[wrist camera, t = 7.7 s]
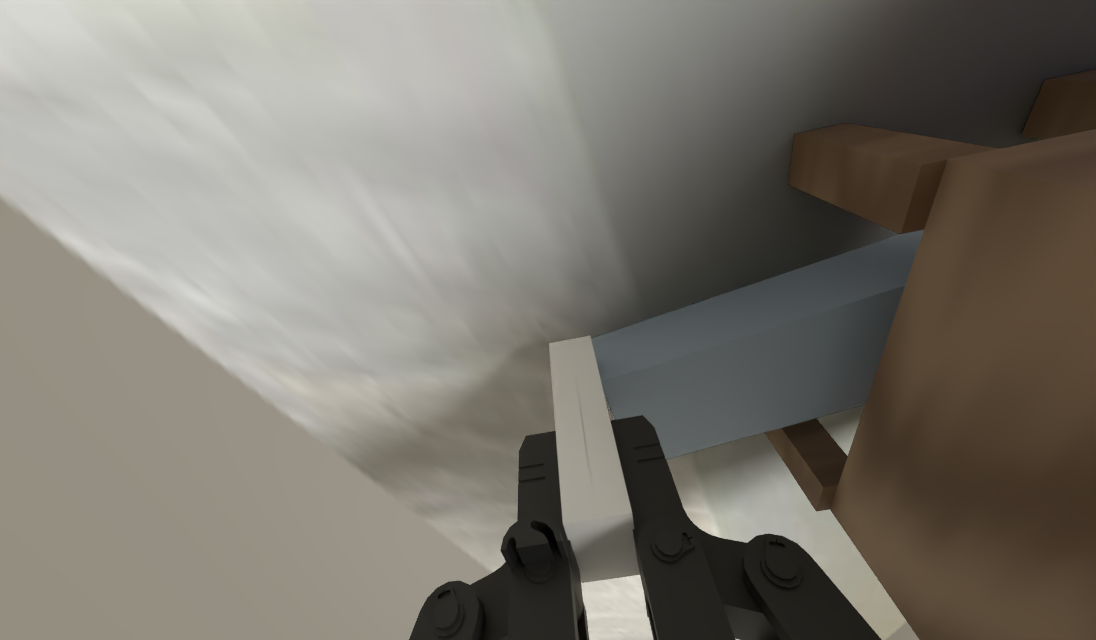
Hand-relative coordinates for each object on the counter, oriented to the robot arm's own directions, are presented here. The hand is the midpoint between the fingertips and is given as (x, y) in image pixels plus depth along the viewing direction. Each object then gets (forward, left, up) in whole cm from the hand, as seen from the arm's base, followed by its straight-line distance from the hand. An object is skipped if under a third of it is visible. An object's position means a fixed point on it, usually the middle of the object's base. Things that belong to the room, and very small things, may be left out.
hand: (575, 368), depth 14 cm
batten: (+1, +9, -2) cm, 9 cm away
